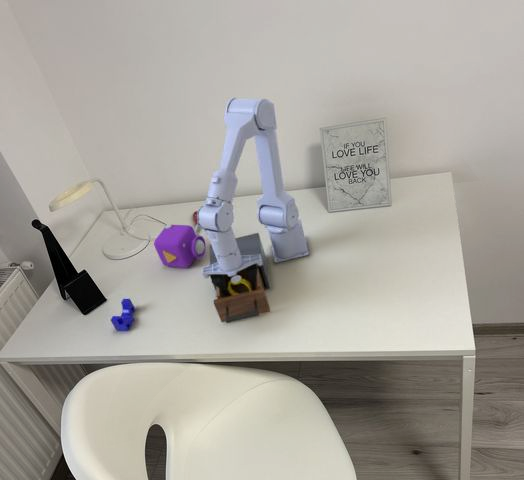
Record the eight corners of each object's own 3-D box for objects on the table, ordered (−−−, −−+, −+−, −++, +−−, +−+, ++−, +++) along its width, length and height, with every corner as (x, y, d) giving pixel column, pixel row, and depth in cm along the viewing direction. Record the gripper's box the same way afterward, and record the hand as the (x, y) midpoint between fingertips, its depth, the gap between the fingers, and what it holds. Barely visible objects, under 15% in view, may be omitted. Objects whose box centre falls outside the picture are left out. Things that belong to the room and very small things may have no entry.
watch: (255, 292, 138) (249, 274, 134) (252, 300, 136) (246, 282, 132) (233, 292, 140) (226, 275, 136) (230, 300, 138) (223, 282, 134)
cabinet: (270, 288, 142) (262, 263, 136) (219, 300, 143) (209, 276, 137) (265, 257, 152) (258, 232, 146) (218, 268, 153) (209, 244, 147)
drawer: (272, 325, 130) (265, 305, 126) (222, 336, 132) (213, 317, 127) (266, 279, 143) (260, 259, 139) (220, 290, 145) (213, 270, 140)
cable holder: (128, 331, 143) (121, 320, 140) (116, 330, 144) (110, 320, 141) (140, 309, 148) (134, 298, 145) (129, 309, 149) (123, 298, 147)
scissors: (210, 211, 176) (209, 209, 175) (201, 237, 166) (200, 235, 165) (194, 213, 177) (193, 211, 177) (185, 239, 167) (184, 237, 167)
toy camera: (205, 269, 154) (193, 241, 148) (161, 272, 158) (148, 245, 152) (214, 245, 162) (203, 217, 155) (172, 248, 166) (160, 221, 159)
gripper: (196, 266, 126) (213, 308, 134) (257, 252, 124) (270, 295, 133) (196, 248, 131) (213, 290, 140) (255, 234, 129) (268, 277, 138)
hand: (241, 291), depth 137 cm, fingers closed on watch, 6 cm apart
